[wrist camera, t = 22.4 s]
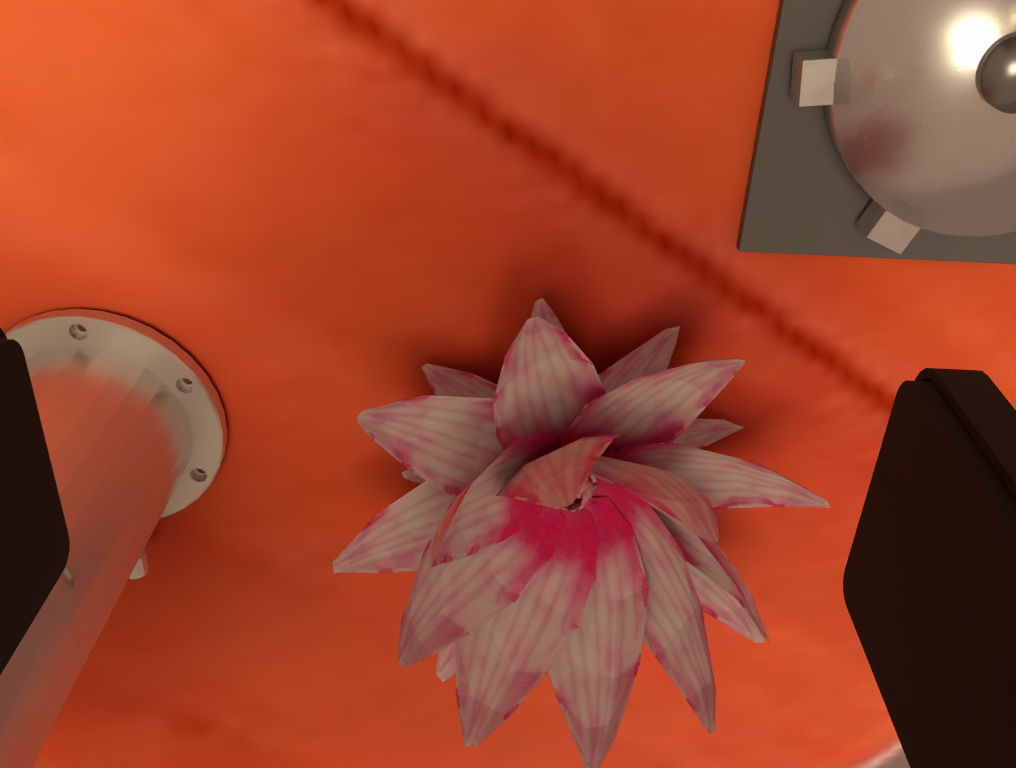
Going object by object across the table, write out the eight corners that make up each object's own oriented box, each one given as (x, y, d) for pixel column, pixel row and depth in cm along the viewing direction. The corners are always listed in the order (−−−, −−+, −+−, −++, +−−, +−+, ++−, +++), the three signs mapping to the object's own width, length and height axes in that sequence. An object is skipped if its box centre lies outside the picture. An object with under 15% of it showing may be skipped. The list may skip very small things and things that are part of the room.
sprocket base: (1123, 264, 45) (1129, 269, 44) (736, 246, 45) (738, 251, 44) (1304, -185, 36) (1315, -185, 35) (817, -210, 36) (821, -210, 35)
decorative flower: (522, 641, 58) (521, 880, 45) (277, 396, 50) (188, 606, 37) (848, 472, 51) (955, 698, 38) (629, 155, 43) (672, 308, 30)
